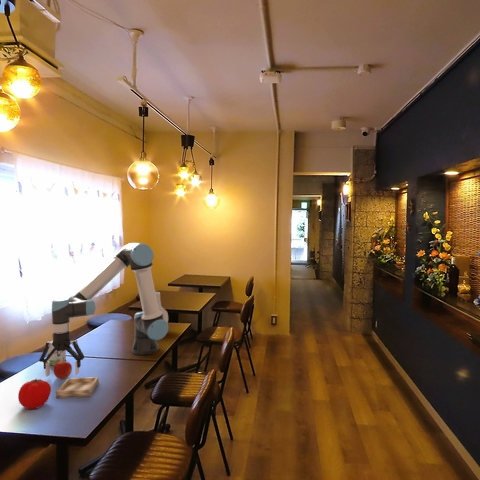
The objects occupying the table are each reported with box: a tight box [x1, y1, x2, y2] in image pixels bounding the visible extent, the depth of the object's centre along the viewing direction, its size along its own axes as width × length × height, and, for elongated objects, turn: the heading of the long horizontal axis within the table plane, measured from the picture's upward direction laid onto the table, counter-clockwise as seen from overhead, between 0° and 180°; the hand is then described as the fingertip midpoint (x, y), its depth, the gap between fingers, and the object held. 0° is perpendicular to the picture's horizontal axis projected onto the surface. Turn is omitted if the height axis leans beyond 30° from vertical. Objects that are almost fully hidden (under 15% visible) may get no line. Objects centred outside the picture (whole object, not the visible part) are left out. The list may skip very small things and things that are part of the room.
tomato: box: [18, 378, 52, 410], centre depth 157 cm, size 12×12×11 cm
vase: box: [155, 291, 169, 324], centre depth 257 cm, size 17×16×28 cm
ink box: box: [47, 340, 67, 366], centre depth 206 cm, size 9×5×12 cm, turn 168°
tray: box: [55, 376, 100, 399], centre depth 171 cm, size 14×14×3 cm
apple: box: [52, 360, 73, 380], centre depth 185 cm, size 8×8×10 cm
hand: (62, 374), depth 185 cm, fingers open, 13 cm apart
